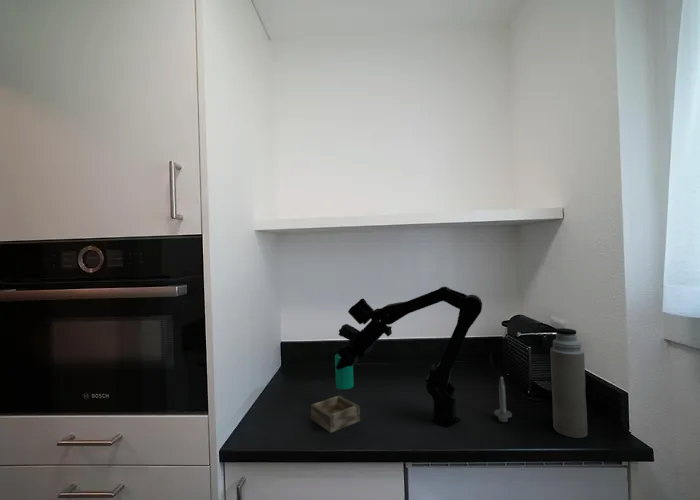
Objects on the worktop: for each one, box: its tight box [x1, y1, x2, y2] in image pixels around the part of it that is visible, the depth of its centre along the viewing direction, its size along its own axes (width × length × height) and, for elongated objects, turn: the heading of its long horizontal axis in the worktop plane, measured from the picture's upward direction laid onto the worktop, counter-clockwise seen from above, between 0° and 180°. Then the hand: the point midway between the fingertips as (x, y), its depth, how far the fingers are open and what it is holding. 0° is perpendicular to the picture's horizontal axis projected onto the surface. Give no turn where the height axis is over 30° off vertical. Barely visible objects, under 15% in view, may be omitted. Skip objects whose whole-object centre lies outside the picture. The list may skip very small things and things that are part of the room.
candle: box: [334, 353, 355, 390], centre depth 117 cm, size 6×6×12 cm
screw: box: [493, 376, 513, 423], centre depth 104 cm, size 13×5×5 cm
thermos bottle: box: [549, 327, 588, 439], centre depth 97 cm, size 8×8×28 cm
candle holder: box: [310, 395, 361, 433], centre depth 107 cm, size 11×11×4 cm
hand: (340, 366), depth 117 cm, fingers closed on candle, 5 cm apart
